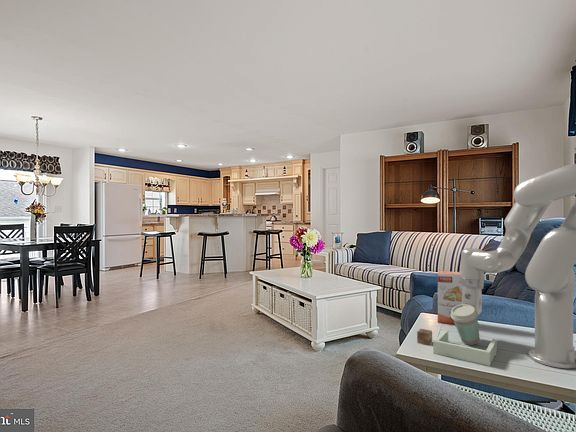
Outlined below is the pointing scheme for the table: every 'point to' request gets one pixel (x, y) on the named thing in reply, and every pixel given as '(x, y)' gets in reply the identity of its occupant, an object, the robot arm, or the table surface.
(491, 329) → the table surface
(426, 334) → the walnut block
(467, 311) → the coffee cup
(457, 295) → the cracker box
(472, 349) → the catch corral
